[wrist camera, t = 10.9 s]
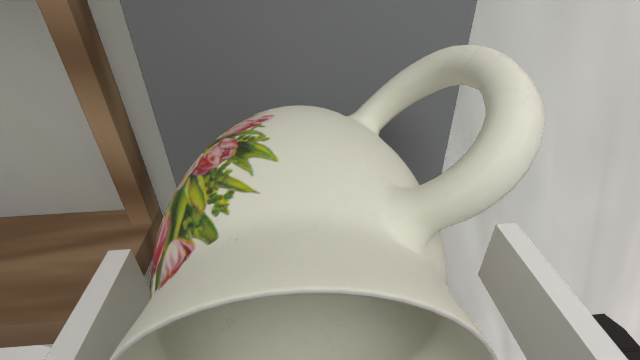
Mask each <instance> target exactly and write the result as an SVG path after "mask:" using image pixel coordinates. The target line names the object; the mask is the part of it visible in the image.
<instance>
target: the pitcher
mask: <svg viewBox="0 0 640 360" xmlns="http://www.w3.org/2000/svg"><path fill="white" fill-rule="evenodd" d="M455 85H467V86H470V87H473V88H476V89H478V90H480V92H481V94H482V95H483V99H484V103H485V107H486V116H485V120H484V123H483V127H482V129H481V131H480V133H479V135H478V137H477V139H476V141H475V142H474V143H473V145H472V146H471V147H470V148H469V150H468V151H467V152H466V154H465V155H464V156H463V157H461V158H460V159H459V160H458V161H457V162H456V163H455V164H454V165H453V166H452V167H450V168H449V169H448V170H446V171H445V172H444V173H442V174H441V175H439V176H437V177H436V178H434V179H432V180H430V181H428V182H426V183H424V184H422V185H419V183H418V182H417V180H416V178H415V177H414V175H413V174H412V172H411V171H410V169H409V168H408V167H407V165H406V164H405V163H404V162H403V160H402V159H401V158H400V157H399V156H398V154H397V153H396V152H395V151H394V150H393V149H392V148H391V147H390V146H389V145H387V144H386V143H385V142H384V141H383V140H382V139H381V138H380V137H379V132H380V130H381V129H382V128H383V127H384V126H385V125H386V124H387V123H388V122H389V121H390V120H391V119H392V118H394V117H395V116H396V115H397V114H398V113H400V112H401V111H402V110H404V109H405V108H407V107H408V106H410V105H411V104H413V103H414V102H416V101H418V100H420V99H422V98H424V97H426V96H428V95H430V94H432V93H434V92H436V91H438V90H441V89H444V88H446V87H449V86H455ZM544 124H545V118H544V108H543V101H542V99H541V97H540V95H539V92H538V90H537V88H536V86H535V84H534V83H533V81H532V80H531V79H530V77H529V76H528V75H527V74H526V73H525V72H524V71H523V70H522V69H521V68H520V67H519V66H518V65H517V64H516V63H515V62H514V61H513V60H512V59H510V58H509V57H508V56H506V55H504V54H502V53H500V52H498V51H496V50H494V49H492V48H487V47H483V46H478V45H459V46H451V47H448V48H444V49H441V50H438V51H436V52H434V53H432V54H429V55H427V56H425V57H423V58H422V59H420V60H418V61H416V62H415V63H413V64H411V65H410V66H408V67H407V68H405V69H404V70H402V71H401V72H399V73H398V74H397V75H395V76H394V77H393V78H391V79H390V80H389V81H388V82H387V83H385V84H384V85H383V86H382V87H381V88H380V89H379V90H378V91H376V92H375V93H374V94H373V95H372V96H371V97H370V98H369V99H368V100H367V101H366V102H365V103H364V104H363V105H362V106H361V107H360V108H359V109H358V110H357V111H356V112H354V113H353V114H351V115H350V116H344V115H342V114H340V113H338V112H335V111H332V110H329V109H326V108H320V107H315V106H302V105H296V106H283V107H278V108H273V109H269V110H266V111H263V112H260V113H257V114H255V115H253V116H251V117H249V118H247V119H245V120H243V121H241V122H239V123H237V124H236V125H234V126H233V127H232V128H230V129H229V130H227V131H226V132H224V133H223V134H222V135H220V136H219V137H218V138H217V139H216V140H215V141H214V142H213V143H211V144H210V145H209V146H208V147H207V148H206V149H205V151H204V152H203V153H202V154H201V155H200V156H199V157H198V159H197V160H196V161H195V162H194V163H193V165H192V166H191V167H190V169H189V170H188V172H187V173H186V174H185V176H184V177H183V179H182V180H181V182H180V184H179V186H178V188H177V189H176V191H175V193H174V195H173V197H172V199H171V201H170V202H169V204H168V206H167V209H166V212H165V214H164V217H163V220H162V223H161V226H160V228H159V231H158V234H157V238H156V243H155V247H154V253H153V260H152V269H151V280H150V301H149V303H148V305H147V306H146V308H145V309H144V311H143V312H142V313H141V315H140V316H139V317H138V319H137V320H136V322H135V323H134V324H133V326H132V327H131V329H130V330H129V331H128V333H127V334H126V335H125V337H124V338H123V340H122V341H121V342H120V344H119V345H118V347H117V348H116V350H115V352H114V353H113V355H112V356H111V358H110V360H497V357H496V355H495V353H494V351H493V349H492V348H491V346H490V345H489V343H488V342H487V340H486V339H485V337H484V336H483V334H482V333H481V331H480V330H479V328H478V326H477V325H476V324H475V323H474V321H473V320H472V319H471V318H470V316H469V315H468V314H467V313H466V311H465V310H464V309H463V308H462V306H461V305H460V304H459V302H458V301H457V300H456V299H455V297H454V296H453V295H452V293H451V292H450V290H449V289H448V288H447V286H446V267H445V259H444V251H443V245H442V239H441V235H440V232H439V231H440V230H441V229H443V228H446V227H448V226H451V225H454V224H457V223H460V222H462V221H465V220H467V219H469V218H471V217H474V216H476V215H478V214H479V213H481V212H483V211H484V210H486V209H487V208H489V207H491V206H492V205H494V204H495V203H497V202H498V201H499V200H500V199H501V198H503V197H504V196H505V195H506V194H508V193H509V192H510V191H511V190H512V189H513V188H514V187H515V186H516V185H517V183H518V182H519V181H520V180H521V179H522V177H523V176H524V175H525V174H526V172H527V171H528V170H529V168H530V166H531V164H532V162H533V160H534V158H535V156H536V154H537V152H538V149H539V147H540V143H541V139H542V134H543V129H544Z"/></svg>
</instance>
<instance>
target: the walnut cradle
mask: <svg viewBox="0 0 640 360" xmlns="http://www.w3.org/2000/svg"><path fill="white" fill-rule="evenodd" d="M36 1H37V3H38V6H39V8H40V10H41V13H42V15H43V17H44V20H45V22H46V24H47V27H48V29H49V31H50V34H51V36H52V38H53V41H54V43H55V46H56V48H57V50H58V53H59V55H60V57H61V60H62V62H63V64H64V67H65V69H66V71H67V74H68V76H69V78H70V81H71V83H72V85H73V88H74V90H75V93H76V95H77V97H78V100H79V102H80V104H81V107H82V109H83V111H84V114H85V116H86V118H87V121H88V123H89V125H90V128H91V130H92V133H93V135H94V137H95V140H96V142H97V144H98V147H99V149H100V151H101V154H102V156H103V158H104V161H105V163H106V165H107V168H108V170H109V173H110V175H111V177H112V180H113V182H114V184H115V187H116V189H117V191H118V194H119V196H120V198H121V201H122V203H123V205H124V208H125V210H118V211H101V212H84V213H68V214H51V215H34V216H17V217H1V218H0V348H5V347H17V346H30V345H43V344H54V342H55V341H56V339H57V337H58V336H59V334H60V332H61V330H62V329H63V327H64V325H65V324H66V322H67V320H68V319H69V317H70V315H71V313H72V312H73V310H74V308H75V307H76V305H77V303H78V302H79V300H80V298H81V296H82V295H83V293H84V291H85V290H86V288H87V286H88V285H89V283H90V281H91V279H92V278H93V276H94V274H95V273H96V271H97V269H98V268H99V266H100V264H101V262H102V261H103V259H104V257H105V256H106V254H107V252H108V251H111V250H125V249H131V250H132V252H133V254H134V257H135V259H136V261H137V263H138V265H139V267H140V269H141V272H142V274H143V276H144V275H145V273H146V271H147V269H148V267H149V264H150V262H151V260H152V258H153V253H154V247H155V243H156V238H157V234H158V231H159V228H160V226H161V223H162V220H163V216H162V213H161V210H160V207H159V205H158V202H157V199H156V196H155V193H154V190H153V188H152V185H151V182H150V179H149V176H148V173H147V171H146V168H145V165H144V162H143V159H142V156H141V154H140V151H139V148H138V145H137V142H136V139H135V137H134V134H133V131H132V128H131V125H130V122H129V120H128V117H127V114H126V111H125V108H124V105H123V103H122V100H121V97H120V94H119V91H118V89H117V86H116V83H115V80H114V77H113V74H112V72H111V69H110V66H109V63H108V60H107V57H106V55H105V52H104V49H103V46H102V43H101V40H100V38H99V35H98V32H97V29H96V26H95V23H94V21H93V18H92V15H91V12H90V9H89V6H88V4H87V1H86V0H36Z"/></svg>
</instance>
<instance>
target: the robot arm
mask: <svg viewBox="0 0 640 360" xmlns="http://www.w3.org/2000/svg"><path fill="white" fill-rule="evenodd" d="M478 275H479V277H480V279H481V280H482V282H483V284H484V286H485V287H486V289H487V291H488V293H489V294H490V296H491V298H492V300H493V301H494V303H495V305H496V307H497V308H498V310H499V312H500V313H501V315H502V317H503V319H504V320H505V322H506V324H507V326H508V327H509V329H510V331H511V333H512V334H513V336H514V338H515V339H516V341H517V343H518V345H519V346H520V348H521V350H522V352H523V353H524V355H525V357H526V359H527V360H640V346H639V345H638V344H637V343H636V342H635V341H634V339H633V338H632V337H631V336H630V335H629V334H628V333H627V331H626V330H625V329H624V328H622V327H621V326H620V325H618V324H617V323H616V322H614V321H613V320H612V319H610V318H609V317H608V316H606V315H605V314H595V315H591V314H590V313H589V311H588V310H587V309H586V308H585V306H584V305H583V304H582V303H581V302H580V300H579V299H578V298H577V297H576V295H575V294H574V293H573V292H572V291H571V289H570V288H569V287H568V286H567V285H566V283H565V282H564V281H563V280H562V278H561V277H560V276H559V275H558V274H557V272H556V271H555V270H554V269H553V267H552V266H551V265H550V264H549V263H548V261H547V260H546V259H545V258H544V256H543V255H542V254H541V253H540V252H539V250H538V249H537V248H536V247H535V245H534V244H533V243H532V242H531V241H530V239H529V238H528V237H527V236H526V235H525V233H524V232H523V231H522V230H521V228H520V227H519V226H518V225H517V224H516V223H510V224H496V226H495V229H494V232H493V234H492V237H491V240H490V243H489V246H488V248H487V251H486V254H485V257H484V259H483V262H482V265H481V268H480V271H479V273H478ZM149 301H150V289H149V287H148V285H147V282H146V280H145V278H144V276H143V274H142V272H141V269H140V267H139V265H138V263H137V261H136V259H135V257H134V254H133V252H132V250H131V249H125V250H111V251H108V252H107V254H106V256H105V257H104V259H103V261H102V262H101V264H100V266H99V268H98V269H97V271H96V273H95V274H94V276H93V278H92V279H91V281H90V283H89V285H88V286H87V288H86V290H85V291H84V293H83V295H82V296H81V298H80V300H79V302H78V303H77V305H76V307H75V308H74V310H73V312H72V313H71V315H70V317H69V319H68V320H67V322H66V324H65V325H64V327H63V329H62V330H61V332H60V334H59V336H58V337H57V339H56V341H55V342H54V344H53V346H52V347H51V349H50V351H49V352H48V354H47V356H46V358H45V359H44V360H110V358H111V356H112V355H113V353H114V352H115V350H116V348H117V347H118V345H119V344H120V342H121V341H122V340H123V338H124V337H125V335H126V334H127V333H128V331H129V330H130V329H131V327H132V326H133V324H134V323H135V322H136V320H137V319H138V317H139V316H140V315H141V313H142V312H143V311H144V309H145V308H146V306H147V305H148V303H149Z"/></svg>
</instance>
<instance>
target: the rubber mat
mask: <svg viewBox="0 0 640 360" xmlns="http://www.w3.org/2000/svg"><path fill="white" fill-rule="evenodd" d="M120 3H121V6H122V9H123V13H124V16H125V19H126V22H127V26H128V29H129V32H130V36H131V39H132V42H133V45H134V49H135V52H136V55H137V59H138V62H139V65H140V68H141V72H142V75H143V78H144V81H145V85H146V88H147V91H148V95H149V98H150V101H151V104H152V108H153V111H154V114H155V117H156V121H157V124H158V127H159V131H160V134H161V137H162V140H163V144H164V147H165V150H166V153H167V157H168V160H169V163H170V167H171V170H172V173H173V176H174V180H175V183H176V186H177V188H178V186H179V184H180V182H181V180H182V179H183V177H184V176H185V174H186V173H187V172H188V170H189V169H190V167H191V166H192V165H193V163H194V162H195V161H196V160H197V159H198V157H199V156H200V155H201V154H202V153H203V152H204V151H205V149H206V148H207V147H208V146H209V145H210V144H211V143H213V142H214V141H215V140H216V139H217V138H218V137H219V136H220V135H222V134H223V133H224V132H226V131H227V130H229V129H230V128H232V127H233V126H234V125H236V124H237V123H239V122H241V121H243V120H245V119H247V118H249V117H251V116H253V115H255V114H257V113H260V112H263V111H266V110H269V109H273V108H278V107H283V106H296V105H302V106H315V107H320V108H326V109H329V110H332V111H335V112H338V113H340V114H342V115H344V116H350V115H351V114H353V113H354V112H356V111H357V110H358V109H359V108H360V107H361V106H362V105H363V104H364V103H365V102H366V101H367V100H368V99H369V98H370V97H371V96H372V95H373V94H374V93H375V92H376V91H378V90H379V89H380V88H381V87H382V86H383V85H384V84H385V83H387V82H388V81H389V80H390V79H391V78H393V77H394V76H395V75H397V74H398V73H399V72H401V71H402V70H404V69H405V68H407V67H408V66H410V65H411V64H413V63H415V62H416V61H418V60H420V59H422V58H423V57H425V56H427V55H429V54H432V53H434V52H436V51H438V50H441V49H444V48H448V47H451V46H459V45H468V42H469V37H470V32H471V28H472V23H473V18H474V13H475V8H476V3H477V0H120ZM459 86H460V85H455V86H449V87H446V88H444V89H441V90H438V91H436V92H434V93H432V94H430V95H428V96H426V97H424V98H422V99H420V100H418V101H416V102H414V103H413V104H411V105H410V106H408V107H407V108H405V109H404V110H402V111H401V112H400V113H398V114H397V115H396V116H395V117H394V118H392V119H391V120H390V121H389V122H388V123H387V124H386V125H385V126H384V127H383V128H382V129H381V130H380V132H379V137H380V138H381V139H382V140H383V141H384V142H385V143H386V144H387V145H389V146H390V147H391V148H392V149H393V150H394V151H395V152H396V153H397V154H398V156H399V157H400V158H401V159H402V160H403V162H404V163H405V164H406V165H407V167H408V168H409V169H410V171H411V172H412V174H413V175H414V177H415V178H416V180H417V182H418V183H419V185H422V184H424V183H426V182H428V181H430V180H432V179H434V178H436V177H437V176H439V175H441V172H442V168H443V163H444V158H445V153H446V148H447V143H448V139H449V134H450V129H451V124H452V119H453V114H454V110H455V105H456V100H457V95H458V90H459Z"/></svg>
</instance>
